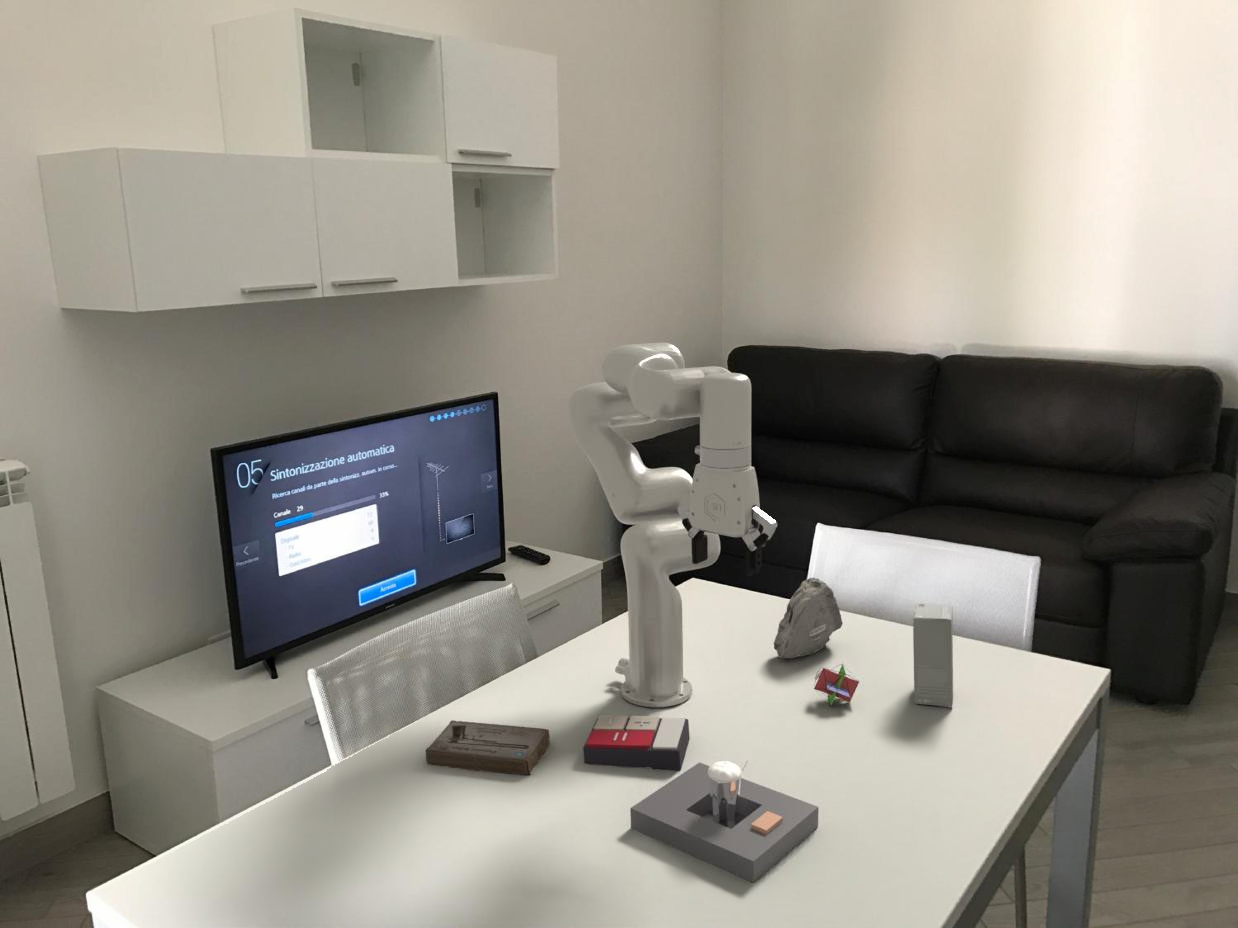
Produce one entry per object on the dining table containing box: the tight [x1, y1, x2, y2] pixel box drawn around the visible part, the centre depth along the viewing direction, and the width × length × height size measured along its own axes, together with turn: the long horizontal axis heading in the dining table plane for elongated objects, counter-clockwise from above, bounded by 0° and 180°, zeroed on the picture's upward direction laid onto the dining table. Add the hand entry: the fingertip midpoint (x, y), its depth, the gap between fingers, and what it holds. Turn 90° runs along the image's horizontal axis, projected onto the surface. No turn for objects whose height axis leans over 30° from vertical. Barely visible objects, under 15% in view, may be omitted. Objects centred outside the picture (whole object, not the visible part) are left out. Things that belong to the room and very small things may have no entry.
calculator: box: [582, 714, 691, 772], centre depth 163 cm, size 11×4×15 cm
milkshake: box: [708, 760, 748, 829], centre depth 140 cm, size 4×5×10 cm
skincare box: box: [912, 603, 954, 708], centre depth 177 cm, size 8×7×16 cm
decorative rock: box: [773, 577, 843, 659], centre depth 198 cm, size 16×7×15 cm, turn 124°
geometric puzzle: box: [813, 663, 860, 708], centre depth 177 cm, size 7×7×8 cm
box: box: [424, 720, 551, 777], centre depth 163 cm, size 11×17×3 cm, turn 75°
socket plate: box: [629, 762, 819, 883], centre depth 141 cm, size 20×16×4 cm
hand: (725, 567), depth 155 cm, fingers open, 9 cm apart
